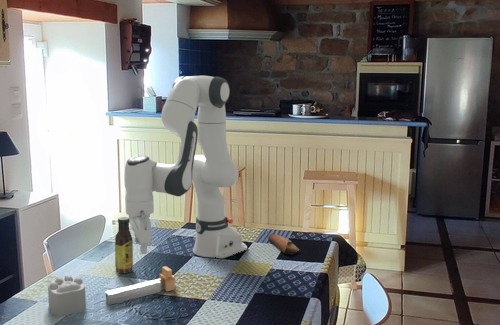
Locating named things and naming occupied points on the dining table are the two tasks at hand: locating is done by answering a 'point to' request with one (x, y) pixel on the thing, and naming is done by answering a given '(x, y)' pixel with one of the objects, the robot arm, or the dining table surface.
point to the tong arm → (134, 292)
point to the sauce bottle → (123, 247)
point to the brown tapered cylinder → (282, 243)
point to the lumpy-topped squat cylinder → (66, 295)
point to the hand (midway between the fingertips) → (141, 247)
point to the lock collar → (168, 278)
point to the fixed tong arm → (138, 285)
